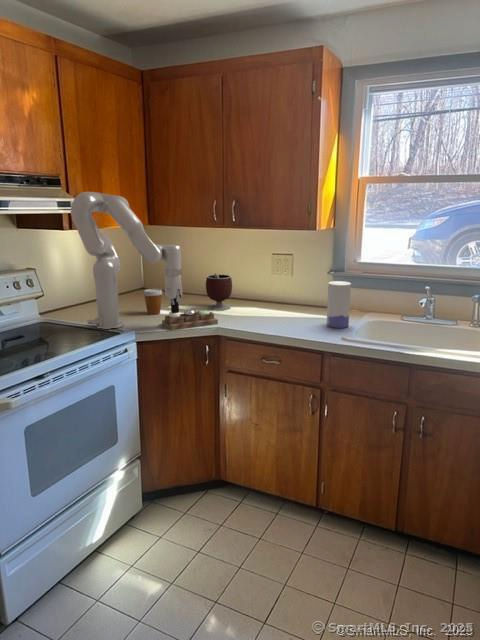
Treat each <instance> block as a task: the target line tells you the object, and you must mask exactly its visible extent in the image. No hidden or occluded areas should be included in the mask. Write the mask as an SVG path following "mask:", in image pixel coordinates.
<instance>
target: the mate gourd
mask: <svg viewBox="0 0 480 640" xmlns="http://www.w3.org/2000/svg"><path fill="white" fill-rule="evenodd" d="M232 291H233V280H232V275H229V274H218V273H214V274H209V275H206V281H205V292H206V296H208V298H209V300H212V301H214V302H216V303H215V304H211V305H208V306H207V309H208V311H214V312H217V311H218V312H223V311H229V310H230V309H231V308H232V306H231V305H229V304H223V301H226V300H229V298H230V297H231V295H232Z"/></svg>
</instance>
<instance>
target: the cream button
mask: <svg viewBox="0 0 480 640" xmlns="http://www.w3.org/2000/svg"><path fill="white" fill-rule="evenodd" d="M180 314H181V312H180V311H179V313H172V312H171V311H169V312H168V315H169V318H171V319H172V318H180Z"/></svg>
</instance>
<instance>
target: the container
mask: <svg viewBox="0 0 480 640" xmlns="http://www.w3.org/2000/svg"><path fill="white" fill-rule="evenodd" d="M327 286H328V287H327V288H328V289H327V306H326V307H327V309H326V326H328V327H330V328H335V329H344V328H348V327H349V323H350V321H349V320H350V307H351V306H350V305H351V288H352V287H351V286H352V283H351V282H349V281H344V280H343V281H341V280H337V281H336V280H335V281H329V282H328V285H327Z"/></svg>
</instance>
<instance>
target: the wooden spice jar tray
mask: <svg viewBox="0 0 480 640" xmlns="http://www.w3.org/2000/svg"><path fill="white" fill-rule="evenodd" d="M161 322H162V323H161V324H162V325H163V326H164V327H166V328H167V329H169V330H170V331H176V330H183V329H185V330H186V329H191V328H197V327H204V326H206V327H207V326H212V325H218V324H219V322H218V319H217V318H215V313H214V312H211V311H210V314H204V315H201V314H199V311H195V316H188V317H186V316H184V313H180V318H172V319H171V318H169V314H168V315H165V316H164V319H162V320H161Z"/></svg>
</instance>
